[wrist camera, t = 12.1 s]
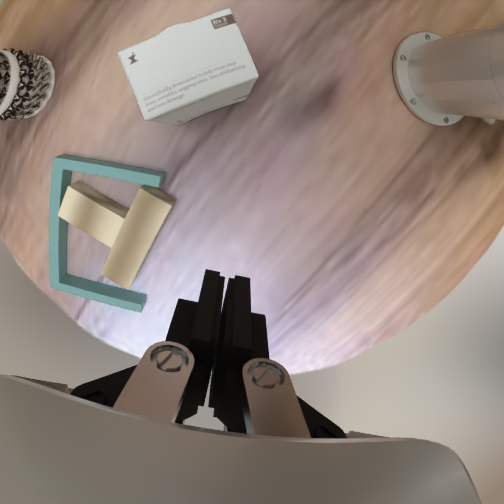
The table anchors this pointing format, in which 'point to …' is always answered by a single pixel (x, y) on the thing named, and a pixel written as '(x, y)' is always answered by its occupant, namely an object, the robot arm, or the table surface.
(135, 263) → the tee block
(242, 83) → the skincare box
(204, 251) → the table surface
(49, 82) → the decorative candle
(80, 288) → the dock
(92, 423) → the robot arm
